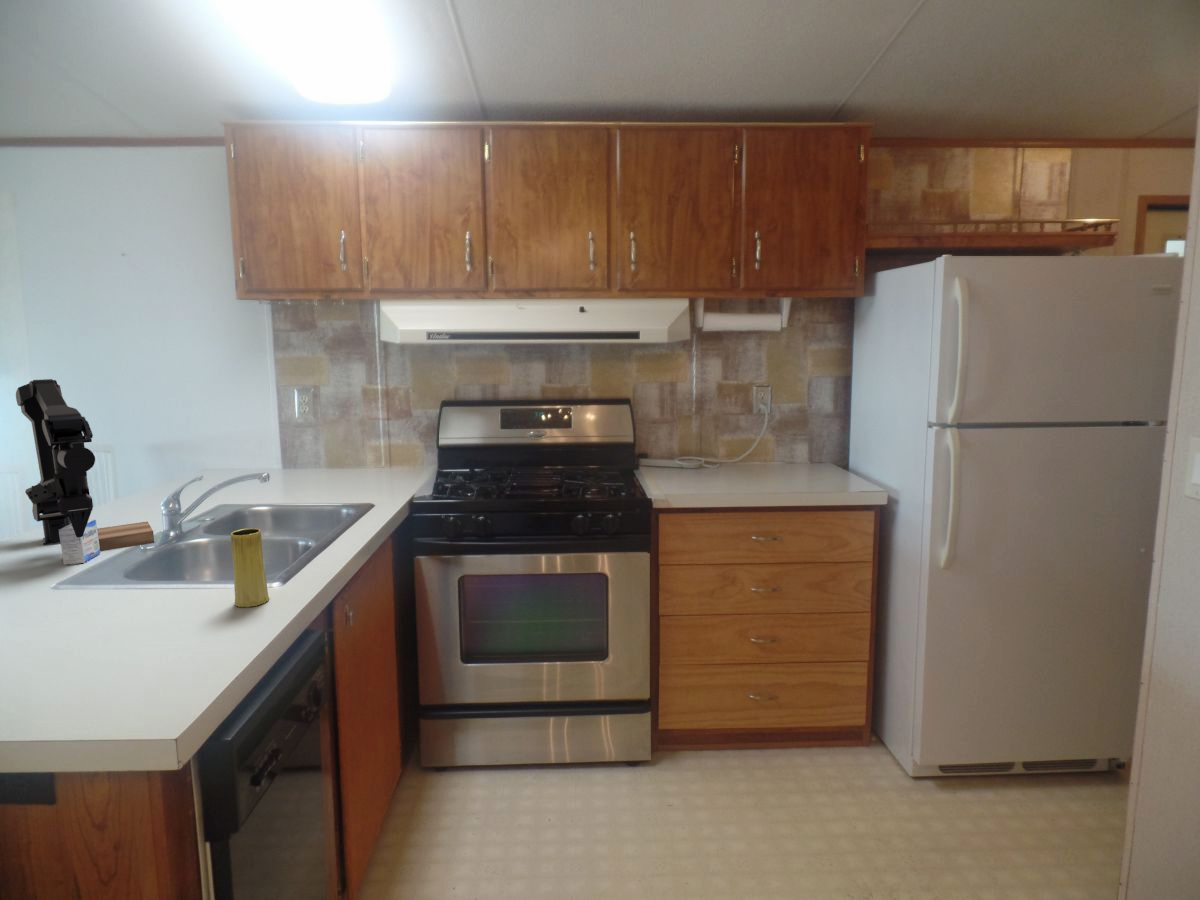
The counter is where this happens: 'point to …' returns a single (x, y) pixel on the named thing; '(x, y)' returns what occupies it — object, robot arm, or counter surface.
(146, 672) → the counter surface
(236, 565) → the vase
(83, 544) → the medicine box
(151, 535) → the block
